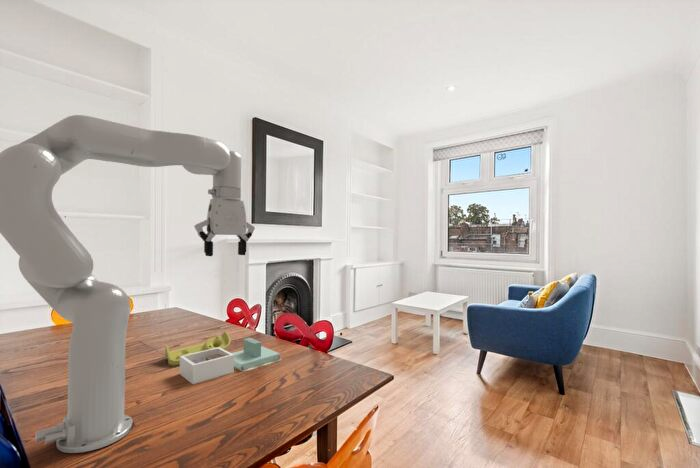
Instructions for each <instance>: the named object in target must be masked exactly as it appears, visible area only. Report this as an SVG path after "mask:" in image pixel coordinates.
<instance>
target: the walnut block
mask: <svg viewBox="0 0 700 468" xmlns="http://www.w3.org/2000/svg"><path fill="white" fill-rule="evenodd" d="M220 357H223V356H221V355H219V354H218V355H214V356H210V357H206V361H208V360H212V359H216V358H220Z"/></svg>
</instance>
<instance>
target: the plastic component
mask: <svg viewBox="0 0 700 468" xmlns="http://www.w3.org/2000/svg"><path fill="white" fill-rule="evenodd" d="M231 341H232V338H231V337H230V335H229V332H228V331H224V332H223V333H222V334H220V335H219V336H214V337H211V338H208V339H207V340H206V341H205V342H203V343H199V344H195V345H190V346H187V347H182V348H179V349H178V348H177V349H174V350H173V349H172V350H170V348H169V345H168V344H166V345H165V347H164V348H165V351H164V355H165V357H166V358H167V363H168V365H170V366H180V356H183V355H188V354H192V353H196V352H201V351H205V350H209V349H213V348H218V347H220V348H222V349H224V350H227V349H228V347H230V344H231V343H232V342H231Z"/></svg>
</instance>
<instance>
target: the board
mask: <svg viewBox="0 0 700 468" xmlns="http://www.w3.org/2000/svg"><path fill="white" fill-rule="evenodd" d="M282 361H283V359H281V358H280V359H279V360H275V361H272V362H268V363H265V364H262V365H258V366H255V367H252V368H248V369H245V370H240V369H238V368H236V367H235V366H234V369H237V370H238V371H240V372H241V373H246V372H248V371H253V370H256V369H259V368H262V367H266V366H269V365H273V364H275V363H276V364H277V363H279V362H282Z"/></svg>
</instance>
